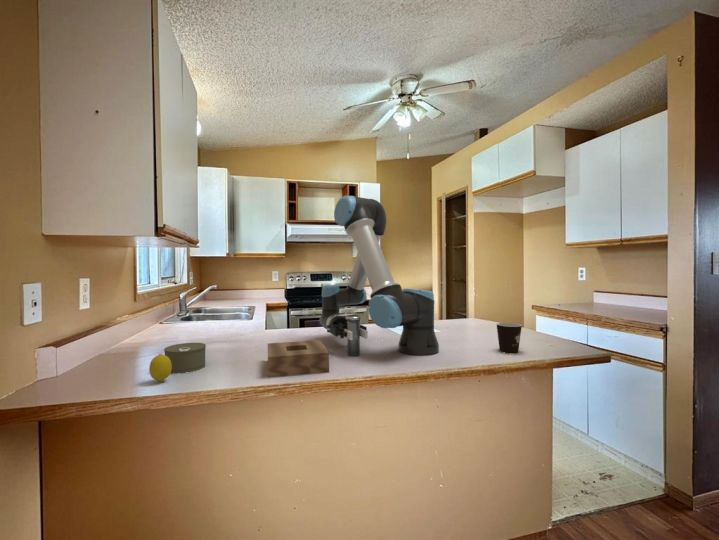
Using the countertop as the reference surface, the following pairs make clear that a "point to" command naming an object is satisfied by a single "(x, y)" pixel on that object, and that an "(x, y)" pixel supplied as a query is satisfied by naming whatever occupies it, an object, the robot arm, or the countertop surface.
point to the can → (186, 357)
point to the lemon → (160, 367)
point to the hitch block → (297, 358)
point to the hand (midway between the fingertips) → (359, 335)
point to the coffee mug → (509, 337)
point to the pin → (354, 334)
